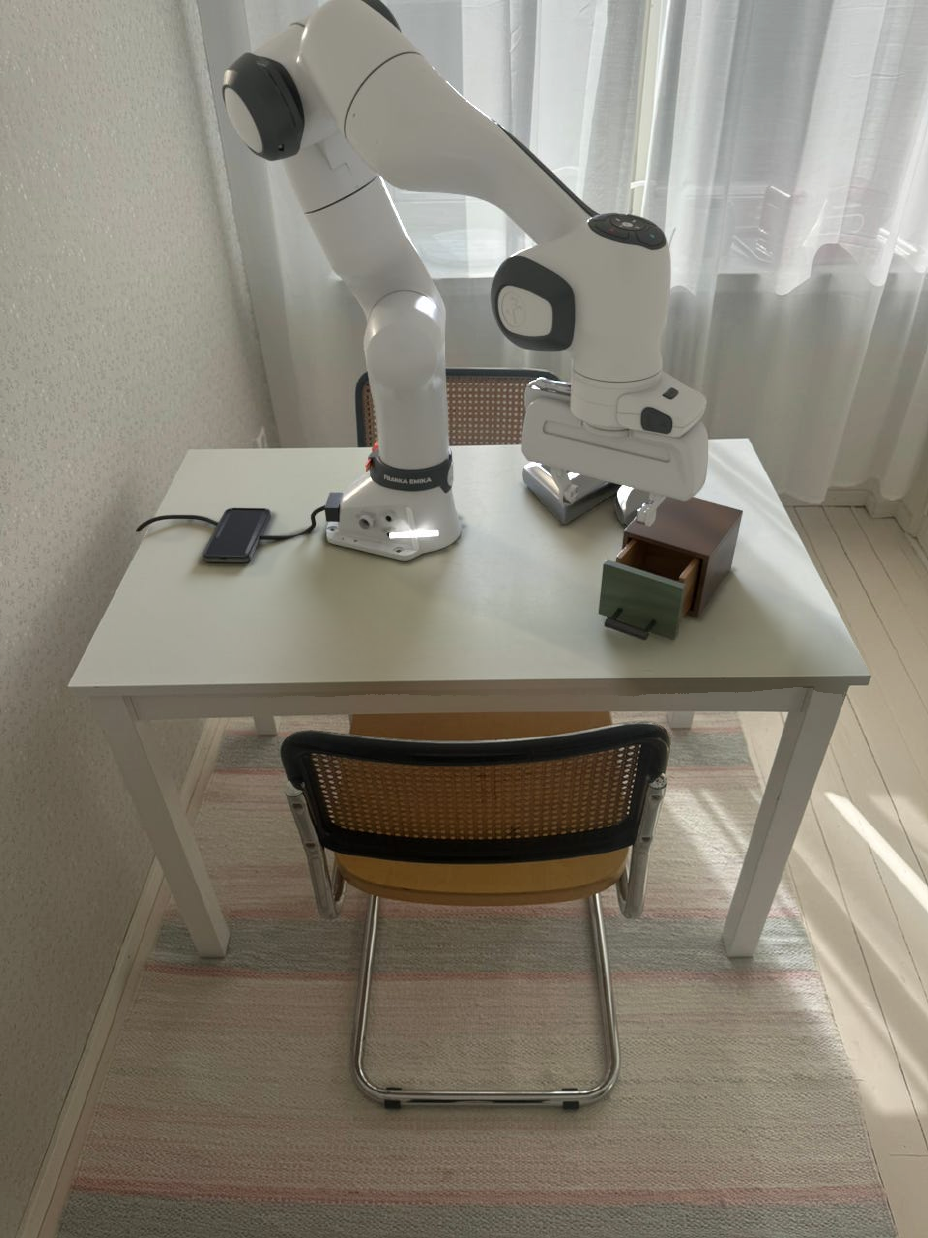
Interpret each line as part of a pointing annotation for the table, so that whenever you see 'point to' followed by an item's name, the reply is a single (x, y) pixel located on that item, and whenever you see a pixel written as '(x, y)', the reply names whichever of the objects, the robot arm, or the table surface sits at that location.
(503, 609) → the table surface
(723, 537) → the cabinet
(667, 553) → the green drawer
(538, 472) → the emblem
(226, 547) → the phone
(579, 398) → the robot arm
